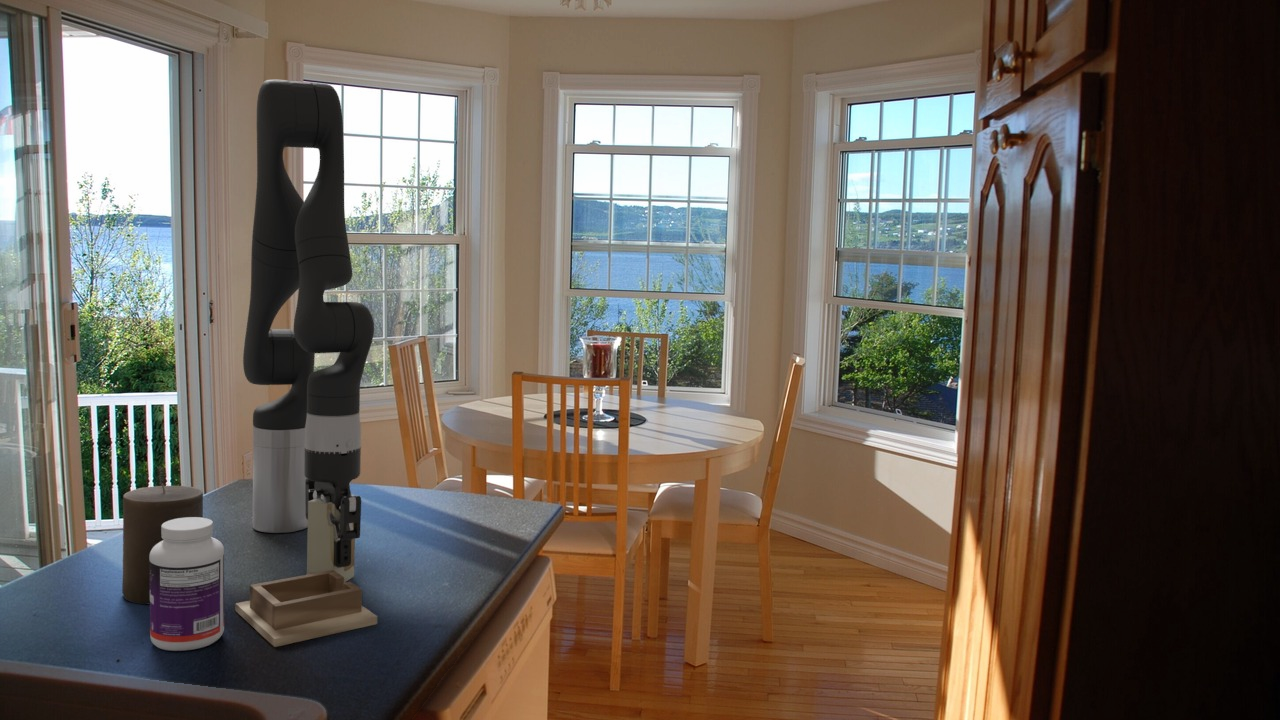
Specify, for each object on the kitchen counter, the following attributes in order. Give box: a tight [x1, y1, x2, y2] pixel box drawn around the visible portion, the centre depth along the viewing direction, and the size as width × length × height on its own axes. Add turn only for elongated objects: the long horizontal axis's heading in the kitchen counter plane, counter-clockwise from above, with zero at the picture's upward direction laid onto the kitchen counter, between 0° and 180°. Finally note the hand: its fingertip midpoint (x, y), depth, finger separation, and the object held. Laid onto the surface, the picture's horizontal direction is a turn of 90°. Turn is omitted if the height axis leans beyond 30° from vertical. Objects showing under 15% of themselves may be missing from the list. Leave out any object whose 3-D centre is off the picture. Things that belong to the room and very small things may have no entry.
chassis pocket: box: [234, 570, 378, 648], centre depth 124 cm, size 14×13×4 cm
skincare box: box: [306, 494, 357, 583], centre depth 137 cm, size 6×4×12 cm
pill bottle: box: [149, 517, 225, 652], centre depth 115 cm, size 8×8×14 cm
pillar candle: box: [121, 483, 204, 605], centre depth 130 cm, size 10×10×15 cm
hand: (331, 558), depth 138 cm, fingers closed on skincare box, 7 cm apart
